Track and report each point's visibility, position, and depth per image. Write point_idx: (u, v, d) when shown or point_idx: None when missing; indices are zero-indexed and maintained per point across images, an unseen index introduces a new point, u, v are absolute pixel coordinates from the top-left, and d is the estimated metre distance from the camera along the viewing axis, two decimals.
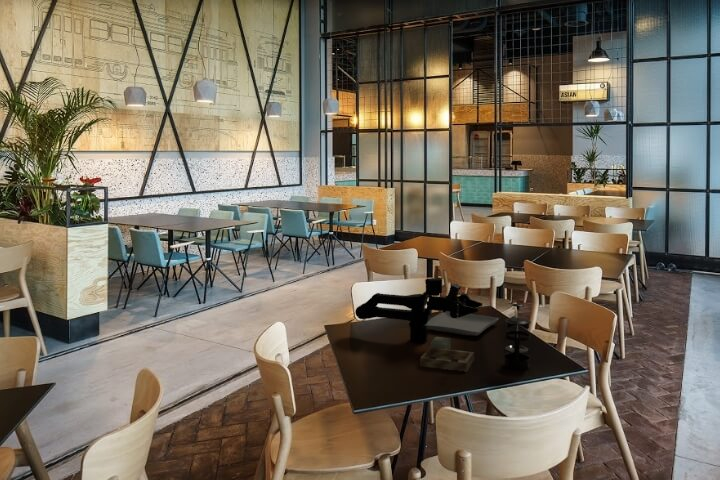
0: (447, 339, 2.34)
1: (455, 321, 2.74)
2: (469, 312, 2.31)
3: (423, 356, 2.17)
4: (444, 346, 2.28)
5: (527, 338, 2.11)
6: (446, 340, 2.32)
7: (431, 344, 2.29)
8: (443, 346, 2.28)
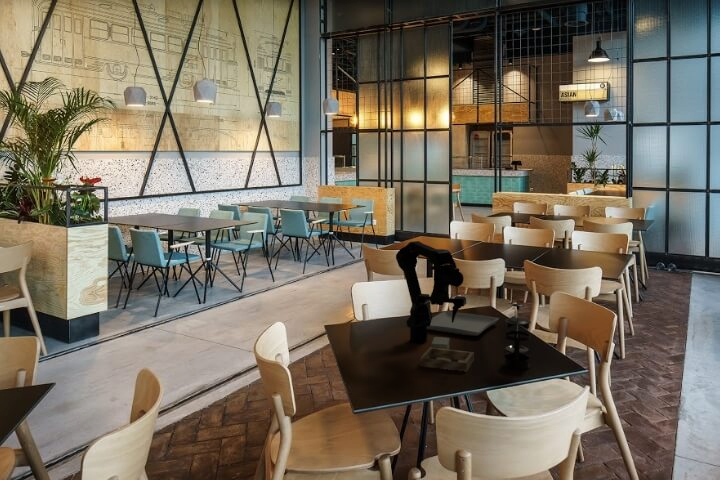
0: (446, 339, 2.35)
1: (455, 321, 2.74)
2: None
3: (423, 356, 2.17)
4: (446, 346, 2.28)
5: (527, 338, 2.11)
6: (446, 340, 2.33)
7: (432, 344, 2.29)
8: (444, 346, 2.28)
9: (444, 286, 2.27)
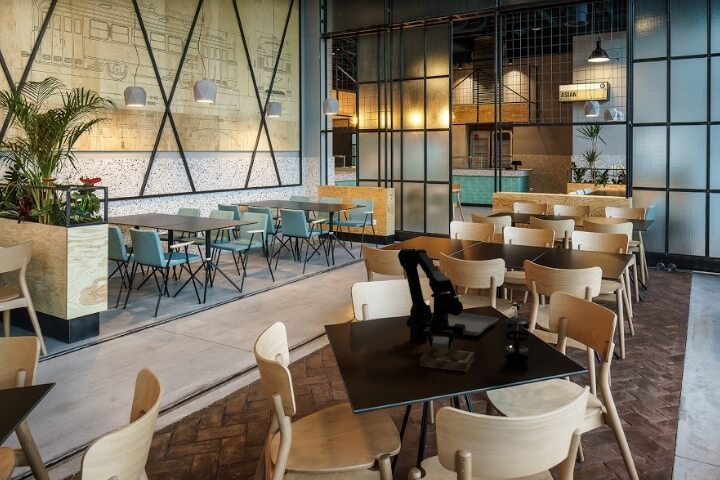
0: (446, 338, 2.35)
1: (455, 321, 2.74)
2: None
3: (423, 356, 2.17)
4: (446, 345, 2.28)
5: (527, 338, 2.11)
6: (446, 340, 2.33)
7: (433, 344, 2.29)
8: (445, 345, 2.28)
9: (444, 314, 2.28)
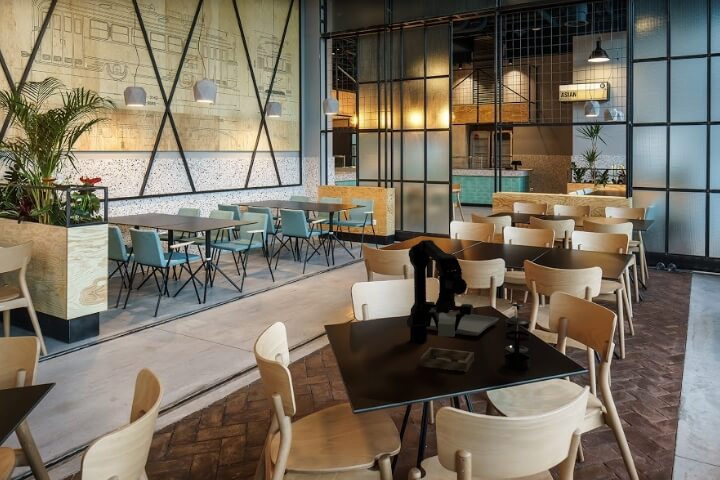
0: (453, 319, 2.22)
1: None
2: None
3: (423, 356, 2.17)
4: (453, 326, 2.15)
5: (527, 338, 2.11)
6: (452, 321, 2.20)
7: (439, 325, 2.16)
8: (452, 326, 2.15)
9: (450, 293, 2.16)
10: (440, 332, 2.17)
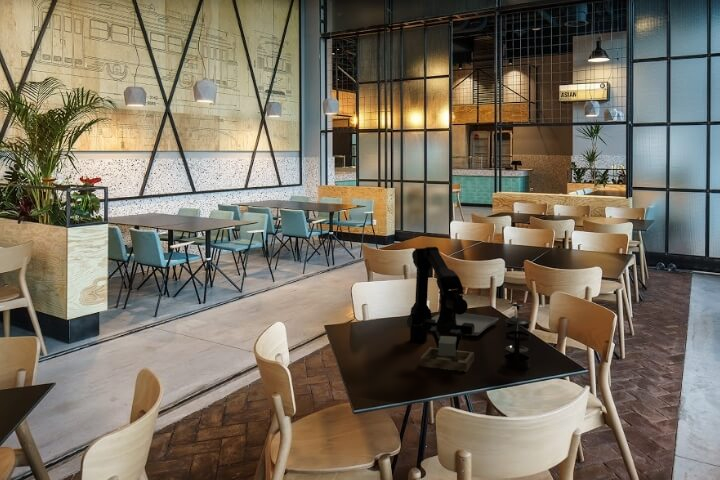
0: (454, 338, 2.20)
1: None
2: None
3: (423, 356, 2.17)
4: (454, 345, 2.13)
5: (527, 338, 2.11)
6: (453, 339, 2.18)
7: (439, 344, 2.14)
8: (453, 345, 2.13)
9: (451, 312, 2.13)
10: (440, 351, 2.14)
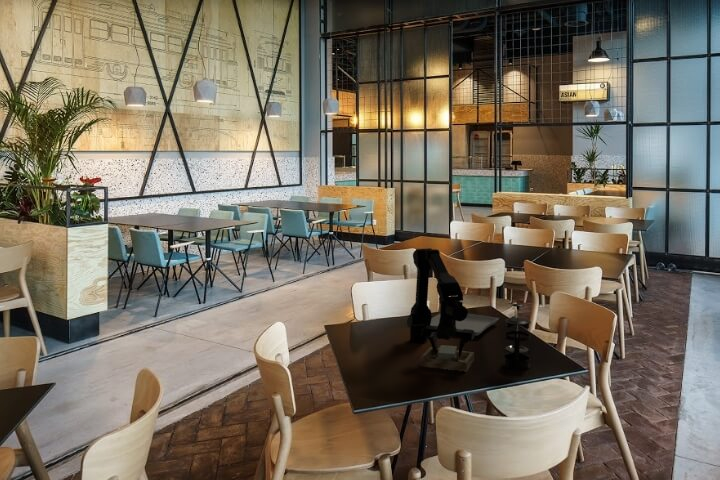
0: (454, 347, 2.20)
1: None
2: None
3: (423, 356, 2.17)
4: (453, 355, 2.14)
5: (527, 338, 2.11)
6: (453, 349, 2.18)
7: (439, 354, 2.15)
8: (452, 355, 2.14)
9: (451, 319, 2.14)
10: None
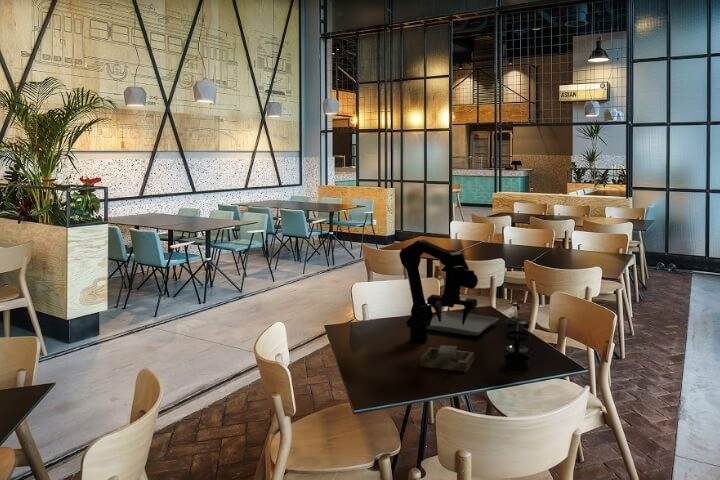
0: (454, 347, 2.20)
1: (455, 321, 2.74)
2: None
3: (423, 356, 2.17)
4: (453, 355, 2.14)
5: (527, 338, 2.11)
6: (453, 349, 2.18)
7: (439, 354, 2.15)
8: (452, 355, 2.14)
9: (455, 288, 2.25)
10: None
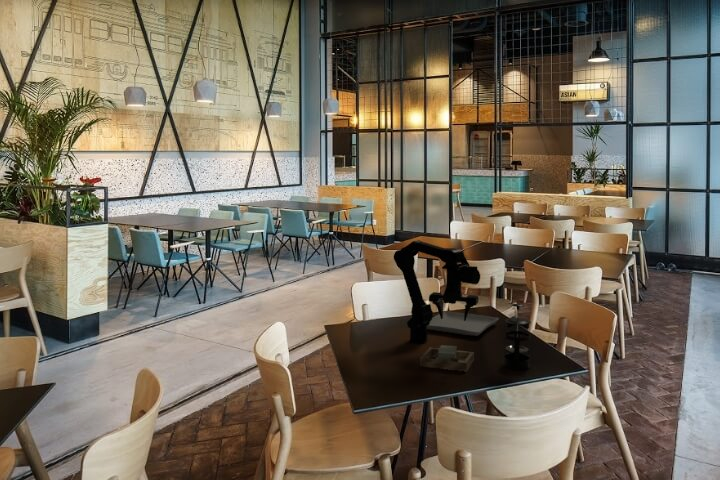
0: (454, 347, 2.20)
1: (455, 321, 2.74)
2: None
3: (423, 356, 2.17)
4: (453, 355, 2.14)
5: (527, 338, 2.11)
6: (453, 349, 2.18)
7: (439, 354, 2.15)
8: (452, 355, 2.14)
9: (457, 285, 2.29)
10: None
